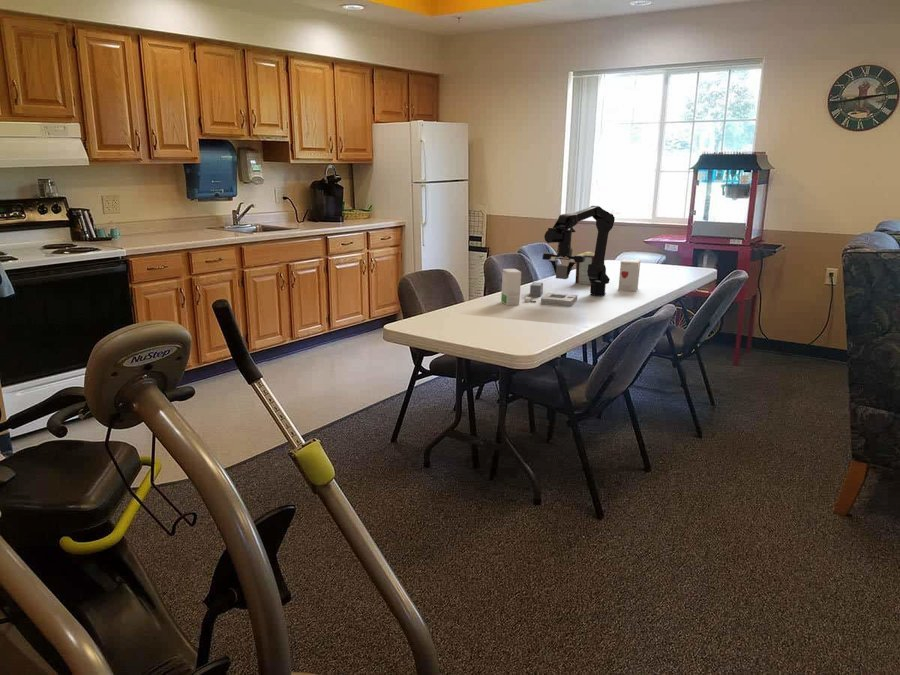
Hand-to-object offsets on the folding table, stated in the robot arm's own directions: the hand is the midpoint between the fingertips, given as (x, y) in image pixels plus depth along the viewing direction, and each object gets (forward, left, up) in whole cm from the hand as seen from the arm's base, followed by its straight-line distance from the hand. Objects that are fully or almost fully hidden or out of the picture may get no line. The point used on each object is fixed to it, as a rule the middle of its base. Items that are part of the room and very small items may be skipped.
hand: (562, 275), depth 302 cm
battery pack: (+14, -8, -12) cm, 20 cm away
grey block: (0, 0, -1) cm, 1 cm away
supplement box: (-26, -40, -12) cm, 49 cm away
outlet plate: (-1, +4, -12) cm, 12 cm away
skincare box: (+20, +16, -12) cm, 28 cm away
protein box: (-4, -52, -12) cm, 54 cm away
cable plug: (+13, +8, -12) cm, 19 cm away
